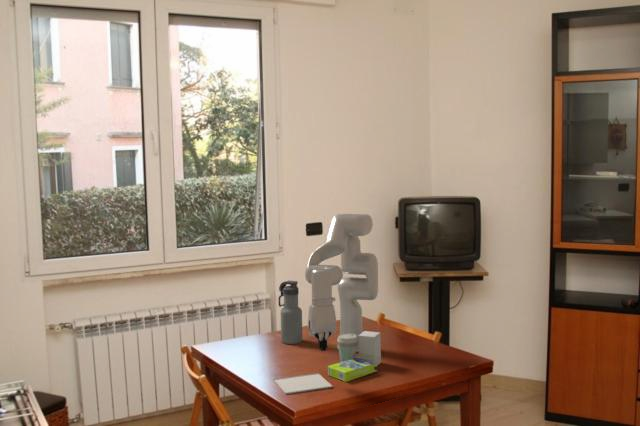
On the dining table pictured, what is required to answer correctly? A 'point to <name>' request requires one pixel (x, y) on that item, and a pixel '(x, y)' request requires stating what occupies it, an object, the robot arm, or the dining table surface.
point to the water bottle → (290, 313)
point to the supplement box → (370, 347)
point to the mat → (302, 383)
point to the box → (351, 369)
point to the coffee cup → (347, 346)
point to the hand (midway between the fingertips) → (322, 349)
